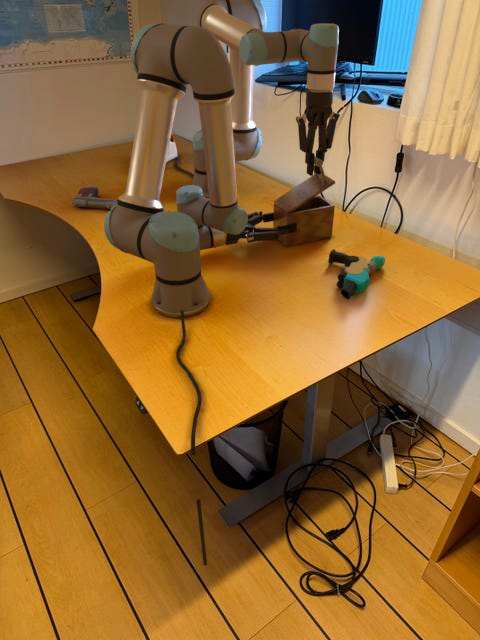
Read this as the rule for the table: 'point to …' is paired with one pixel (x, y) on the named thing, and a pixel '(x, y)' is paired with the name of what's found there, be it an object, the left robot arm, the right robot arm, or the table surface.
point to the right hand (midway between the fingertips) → (313, 173)
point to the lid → (305, 190)
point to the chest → (306, 221)
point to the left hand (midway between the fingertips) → (288, 221)
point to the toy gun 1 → (92, 199)
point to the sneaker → (172, 149)
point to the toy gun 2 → (354, 272)
